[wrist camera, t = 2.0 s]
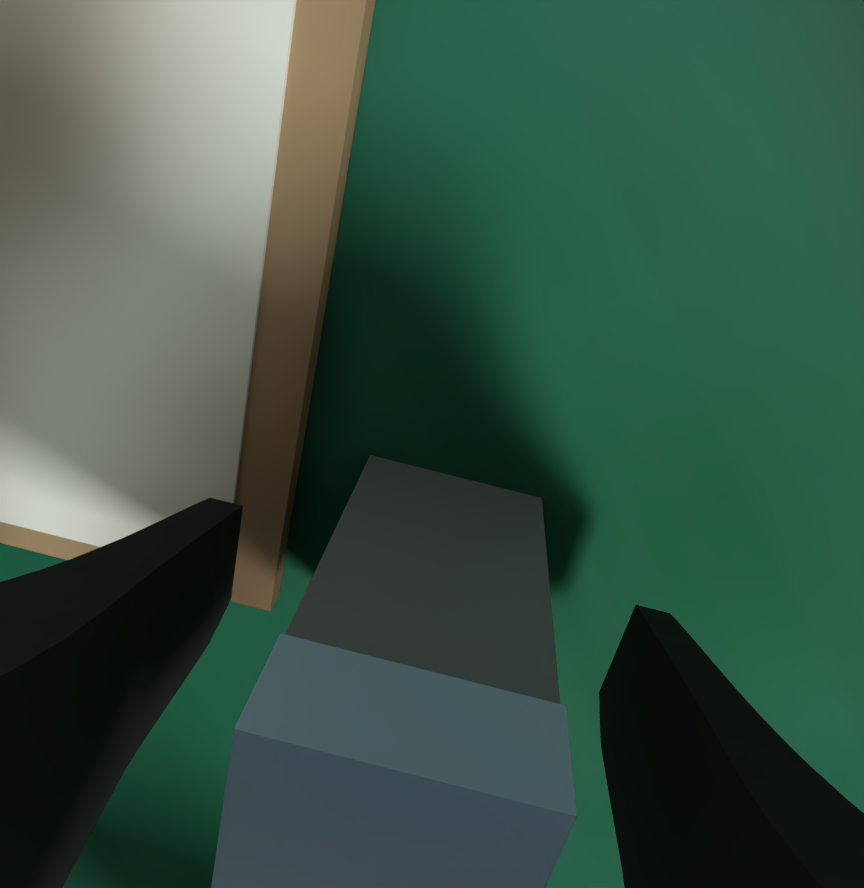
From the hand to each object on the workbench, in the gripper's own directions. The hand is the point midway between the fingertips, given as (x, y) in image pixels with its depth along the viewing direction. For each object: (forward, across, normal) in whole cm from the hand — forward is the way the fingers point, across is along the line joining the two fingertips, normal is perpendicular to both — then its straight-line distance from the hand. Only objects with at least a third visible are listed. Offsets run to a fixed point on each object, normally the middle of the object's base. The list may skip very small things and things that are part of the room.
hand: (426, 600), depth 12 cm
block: (+2, 0, 0) cm, 2 cm away
